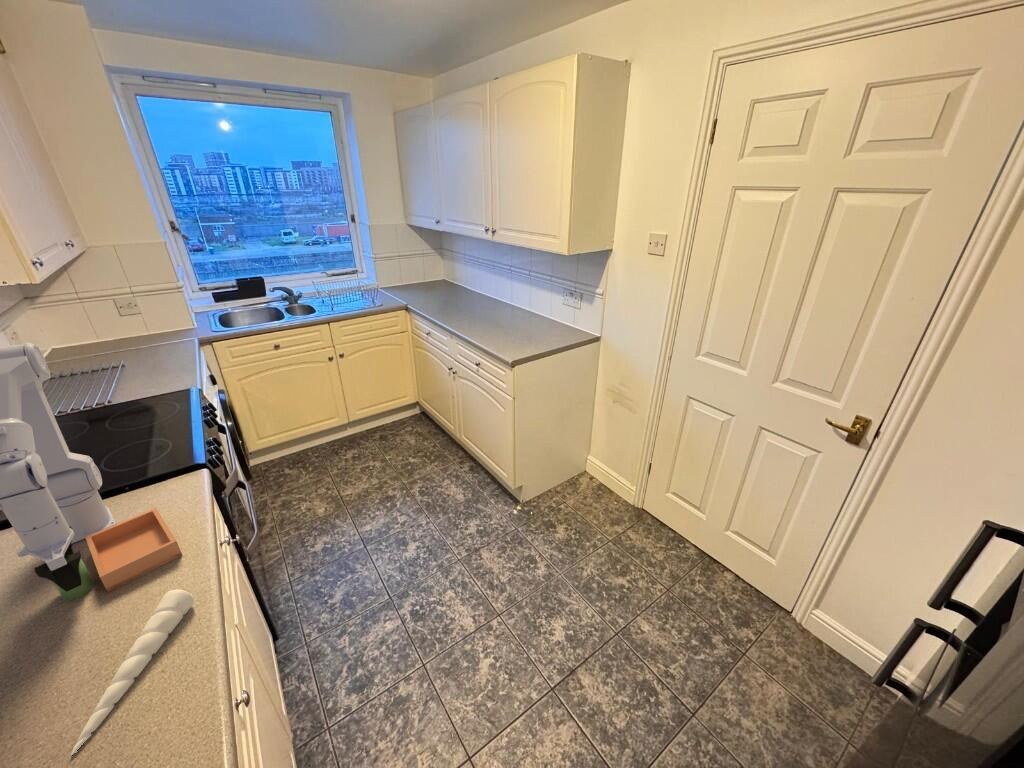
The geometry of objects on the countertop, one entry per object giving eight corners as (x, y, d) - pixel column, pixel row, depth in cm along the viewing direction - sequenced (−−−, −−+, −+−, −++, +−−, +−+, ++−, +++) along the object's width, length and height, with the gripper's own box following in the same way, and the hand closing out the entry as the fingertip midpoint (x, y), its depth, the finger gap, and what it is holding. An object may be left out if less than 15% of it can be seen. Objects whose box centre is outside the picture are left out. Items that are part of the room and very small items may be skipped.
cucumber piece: (61, 591, 80) (44, 564, 77) (92, 576, 83) (78, 550, 81) (64, 604, 78) (47, 577, 75) (96, 588, 81) (82, 562, 78)
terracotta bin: (92, 551, 89) (85, 537, 88) (161, 521, 98) (155, 507, 96) (107, 592, 80) (99, 577, 78) (182, 555, 89) (176, 540, 87)
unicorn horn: (43, 760, 56) (27, 740, 54) (173, 604, 78) (165, 586, 76) (78, 760, 56) (64, 740, 54) (198, 604, 78) (191, 586, 76)
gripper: (2, 514, 75) (36, 569, 80) (7, 554, 66) (44, 613, 72) (57, 495, 80) (86, 548, 85) (68, 529, 71) (99, 586, 77)
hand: (70, 576), depth 79 cm, fingers open, 7 cm apart
